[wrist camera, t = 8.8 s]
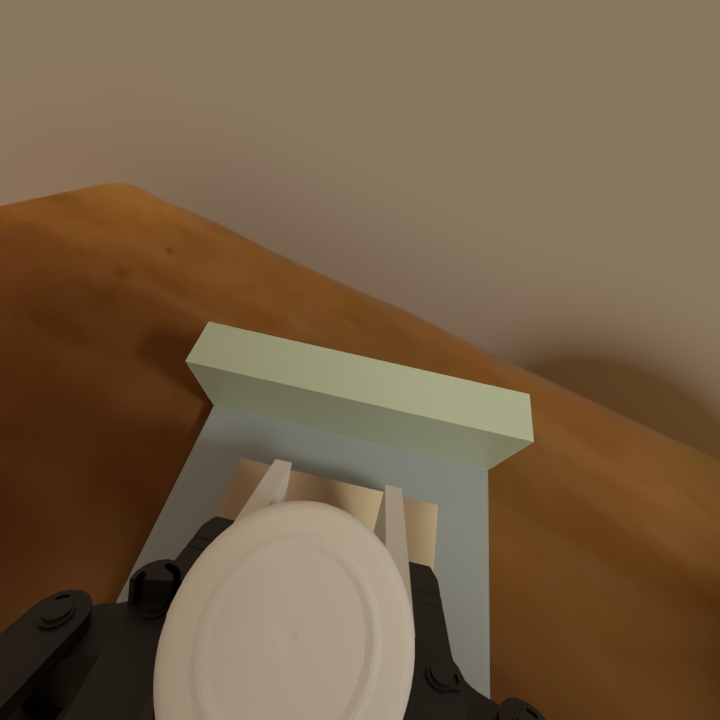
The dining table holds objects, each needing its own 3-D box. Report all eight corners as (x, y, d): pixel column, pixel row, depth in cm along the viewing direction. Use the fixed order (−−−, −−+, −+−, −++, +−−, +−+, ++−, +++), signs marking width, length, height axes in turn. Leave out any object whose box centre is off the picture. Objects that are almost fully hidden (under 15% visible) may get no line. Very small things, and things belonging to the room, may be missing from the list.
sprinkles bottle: (354, 542, 18) (404, 491, 7) (358, 650, 16) (444, 831, 5) (269, 547, 18) (180, 500, 7) (261, 659, 15) (94, 887, 4)
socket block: (419, 515, 21) (438, 505, 18) (394, 773, 15) (415, 831, 12) (253, 475, 21) (240, 457, 18) (163, 713, 15) (120, 751, 12)
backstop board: (482, 434, 26) (529, 394, 20) (482, 786, 16) (576, 910, 10) (234, 377, 26) (209, 321, 20) (86, 682, 16) (-44, 742, 11)
